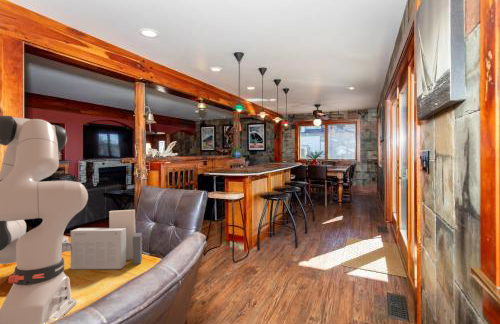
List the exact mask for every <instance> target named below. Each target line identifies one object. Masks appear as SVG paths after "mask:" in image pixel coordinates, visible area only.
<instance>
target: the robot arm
mask: <svg viewBox="0 0 500 324" xmlns="http://www.w3.org/2000/svg"><path fill="white" fill-rule="evenodd" d="M67 141H68V136H67V131H66V129H65V128H64V127H62V126H59V125H56V124H51V123H50V122H49V121H47V120H45V119H41V118H31V119H30V118H26V117H25V118H24V117H16V116H15V117H14V116H12V115H0V145H1V146H6V149H5V152H4V154H3V158H2V163H1V168H0V265H5V264H6V265H8V264H13V263H16V266H15V267H14V271H13V275H12V274H11V275H10V276H9V277H8V281H7V282H8V283H9V284H12V285H11V287H10V290H9V291H8V293H7V295H6V297H5V299H4V301H3V303H2V304H1V307H0V324H46V323H50V321H51V322H53V321H54V320H57V319H59V318H61V319H63V317H64V316H65V315H66V314H67V313H68V312H69V311H70V310H71V309H73V307H75V305H76V304H77V299H76V298H74V297H72V292H71V282H70V277H69V276H68V275H67V274H65V272H64V271H65V259H64V257H63V253H65V252H71V250H72V246H71V241H70V240H69V236H65V235H64V232H65V231H66V228H67V226H68V224H69V223H70V222H71V220H72V219H73V218H74V217H75V216H76V215H77V214H79V213H80V212H81V211H83V209H84V208H85V207H86V205H87V203H88V200H89V194H88V190H87V188H86V187H85V185H84V184H82V183H81V182H80V181H73V180H50V181H49V180H47V181H46V180H45V181H42V180H44V179H47V178H49V177H50V176H52V175H53V174H54V173H56V171H57V170H58V169H59V166H60V160H59V157H60V155H59V151H62V150H63V149H64V148H65V146H66V144H67ZM33 219H34V220H35V219H42V222H41V223H40V224H39V225H37V226H36V227H34V228H31V229H30V230H29V231H27V228H28V227H27V225H28V224H27V222H26V221H25V220H33ZM69 241H70V242H69ZM64 314H65V315H64ZM53 318H55V319H54V320H51V319H53ZM49 320H50V321H49Z"/></svg>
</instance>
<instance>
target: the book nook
mask: <svg viewBox="0 0 500 324" xmlns="http://www.w3.org/2000/svg"><path fill="white" fill-rule="evenodd" d="M108 213H109V214H108V215H109V216H108V217H109V219H108V220H109V221H108V222H109V223H108V224H109V225H108V228H126V261H128V260H132V264H133V265H141V264H142V261H143V237H142V236H143V232H136V209H124V210H123V209H122V210H110V211H108Z"/></svg>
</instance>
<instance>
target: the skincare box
mask: <svg viewBox="0 0 500 324" xmlns="http://www.w3.org/2000/svg"><path fill="white" fill-rule="evenodd" d="M70 243H71V246H72V250H71V251H70V269H71V270H121V269H123V268H124V267H125V266H127V260H126V228H109V227H78V228H75V229H73V230H70Z"/></svg>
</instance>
